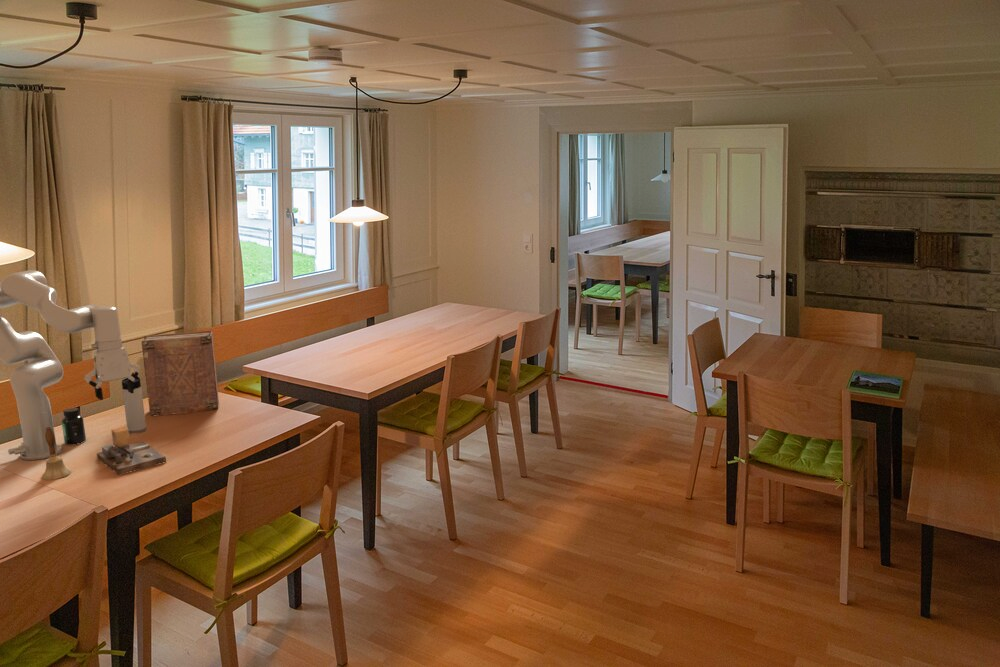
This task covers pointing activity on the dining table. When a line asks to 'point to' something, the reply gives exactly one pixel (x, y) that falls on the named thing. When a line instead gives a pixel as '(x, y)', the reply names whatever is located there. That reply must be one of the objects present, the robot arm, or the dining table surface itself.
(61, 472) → the hand bell
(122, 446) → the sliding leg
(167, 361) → the book
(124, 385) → the travel mug
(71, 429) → the supplement bottle
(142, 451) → the gauge plate
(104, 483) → the dining table surface
